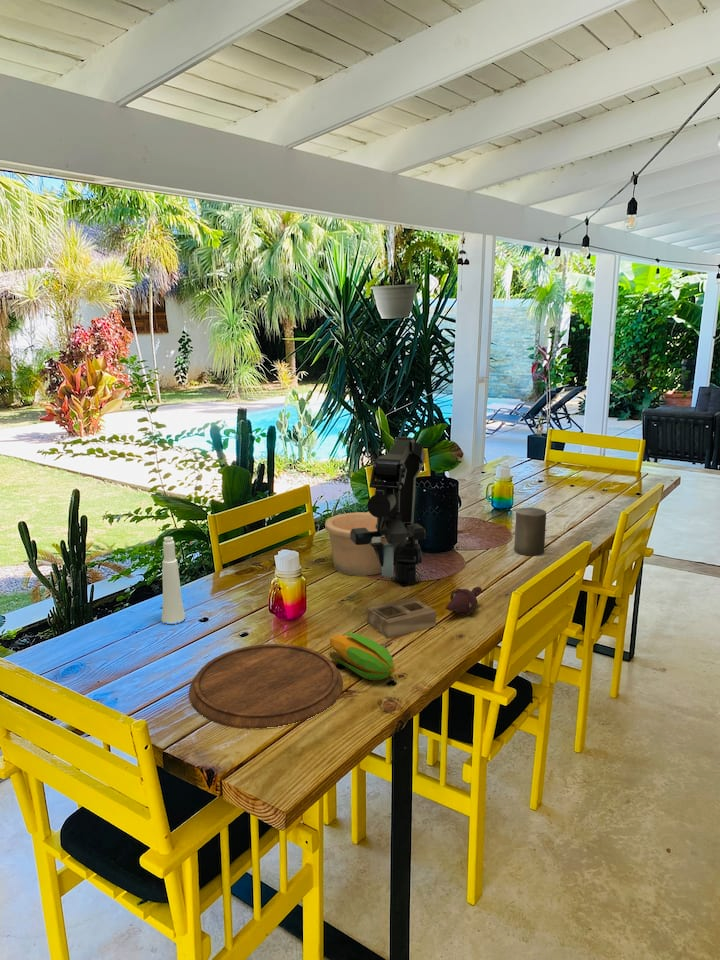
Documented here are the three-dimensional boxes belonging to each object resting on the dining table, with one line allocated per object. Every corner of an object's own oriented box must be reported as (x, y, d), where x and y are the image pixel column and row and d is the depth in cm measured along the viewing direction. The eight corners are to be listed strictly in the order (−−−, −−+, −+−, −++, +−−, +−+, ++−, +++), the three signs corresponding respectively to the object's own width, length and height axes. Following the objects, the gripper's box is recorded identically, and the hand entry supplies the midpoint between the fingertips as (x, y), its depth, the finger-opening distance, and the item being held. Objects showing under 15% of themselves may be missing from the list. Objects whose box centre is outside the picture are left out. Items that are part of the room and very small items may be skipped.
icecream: (461, 603, 176) (493, 591, 187) (438, 589, 180) (471, 578, 192) (453, 627, 178) (485, 614, 189) (431, 612, 183) (463, 600, 194)
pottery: (314, 574, 213) (314, 528, 209) (340, 551, 233) (340, 509, 230) (384, 583, 206) (384, 536, 203) (404, 558, 226) (405, 515, 223)
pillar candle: (547, 556, 229) (550, 511, 225) (516, 556, 229) (519, 510, 226) (540, 546, 238) (543, 503, 235) (511, 546, 238) (513, 503, 235)
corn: (379, 657, 146) (317, 626, 160) (377, 691, 148) (315, 657, 162) (404, 648, 151) (342, 618, 165) (401, 681, 153) (340, 649, 167)
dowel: (380, 573, 185) (380, 544, 183) (391, 572, 186) (391, 543, 184) (383, 577, 182) (384, 547, 181) (394, 576, 183) (395, 546, 181)
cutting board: (374, 684, 151) (374, 673, 151) (258, 752, 128) (257, 739, 127) (273, 638, 172) (273, 629, 171) (158, 690, 149) (157, 679, 148)
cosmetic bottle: (169, 627, 177) (164, 543, 172) (156, 620, 181) (151, 537, 176) (190, 619, 182) (185, 537, 176) (177, 613, 186) (172, 532, 180)
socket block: (367, 622, 180) (367, 607, 179) (413, 611, 187) (413, 596, 186) (388, 638, 172) (388, 621, 171) (435, 625, 178) (436, 609, 177)
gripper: (362, 518, 170) (361, 580, 174) (434, 512, 175) (433, 572, 179) (349, 506, 180) (349, 565, 184) (418, 501, 186) (417, 558, 189)
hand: (387, 565), depth 184 cm, fingers closed on dowel, 3 cm apart
